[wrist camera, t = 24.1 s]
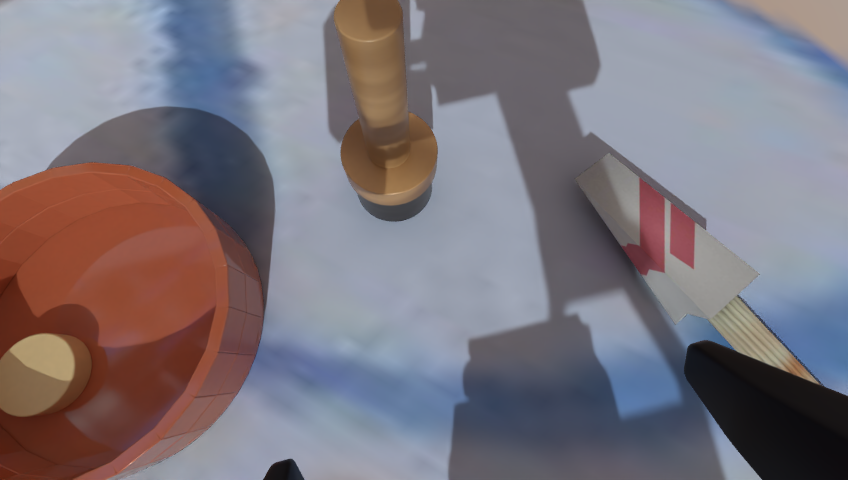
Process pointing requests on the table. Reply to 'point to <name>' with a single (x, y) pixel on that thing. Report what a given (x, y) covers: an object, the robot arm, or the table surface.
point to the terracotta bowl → (123, 316)
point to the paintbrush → (682, 261)
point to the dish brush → (383, 114)
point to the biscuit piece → (43, 374)
